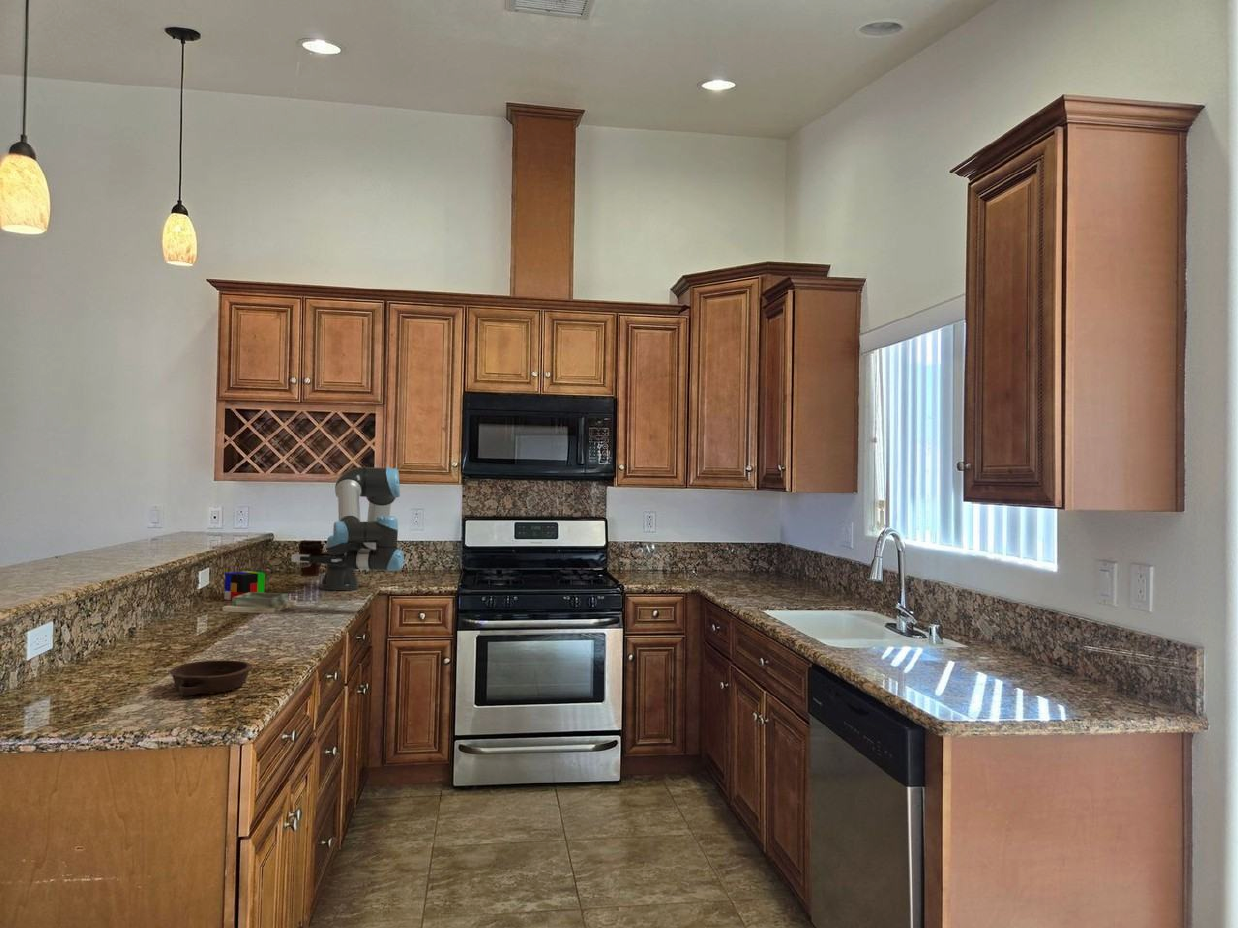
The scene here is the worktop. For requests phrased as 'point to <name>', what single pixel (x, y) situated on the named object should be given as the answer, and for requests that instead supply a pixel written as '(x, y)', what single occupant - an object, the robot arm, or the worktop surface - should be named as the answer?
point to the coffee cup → (314, 549)
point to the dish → (209, 676)
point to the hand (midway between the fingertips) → (296, 556)
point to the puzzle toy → (243, 583)
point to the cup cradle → (259, 603)
